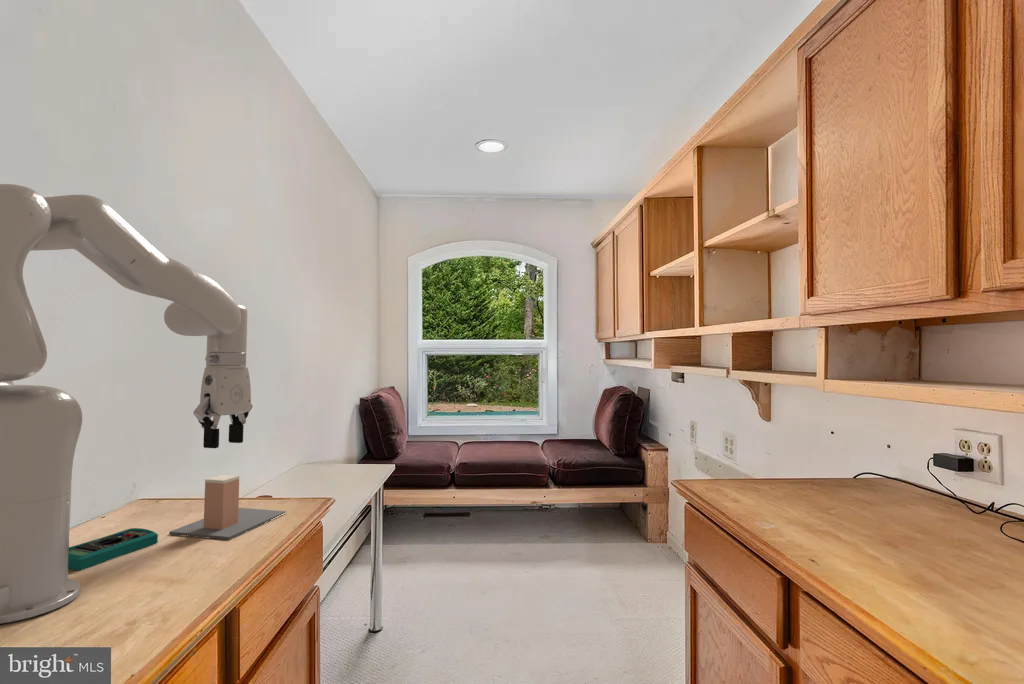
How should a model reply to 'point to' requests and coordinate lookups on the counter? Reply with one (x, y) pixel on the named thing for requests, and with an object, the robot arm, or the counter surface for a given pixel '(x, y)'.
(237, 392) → the robot arm
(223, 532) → the mat
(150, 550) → the counter surface
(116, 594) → the counter surface
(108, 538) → the digital multimeter
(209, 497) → the block
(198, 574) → the counter surface
